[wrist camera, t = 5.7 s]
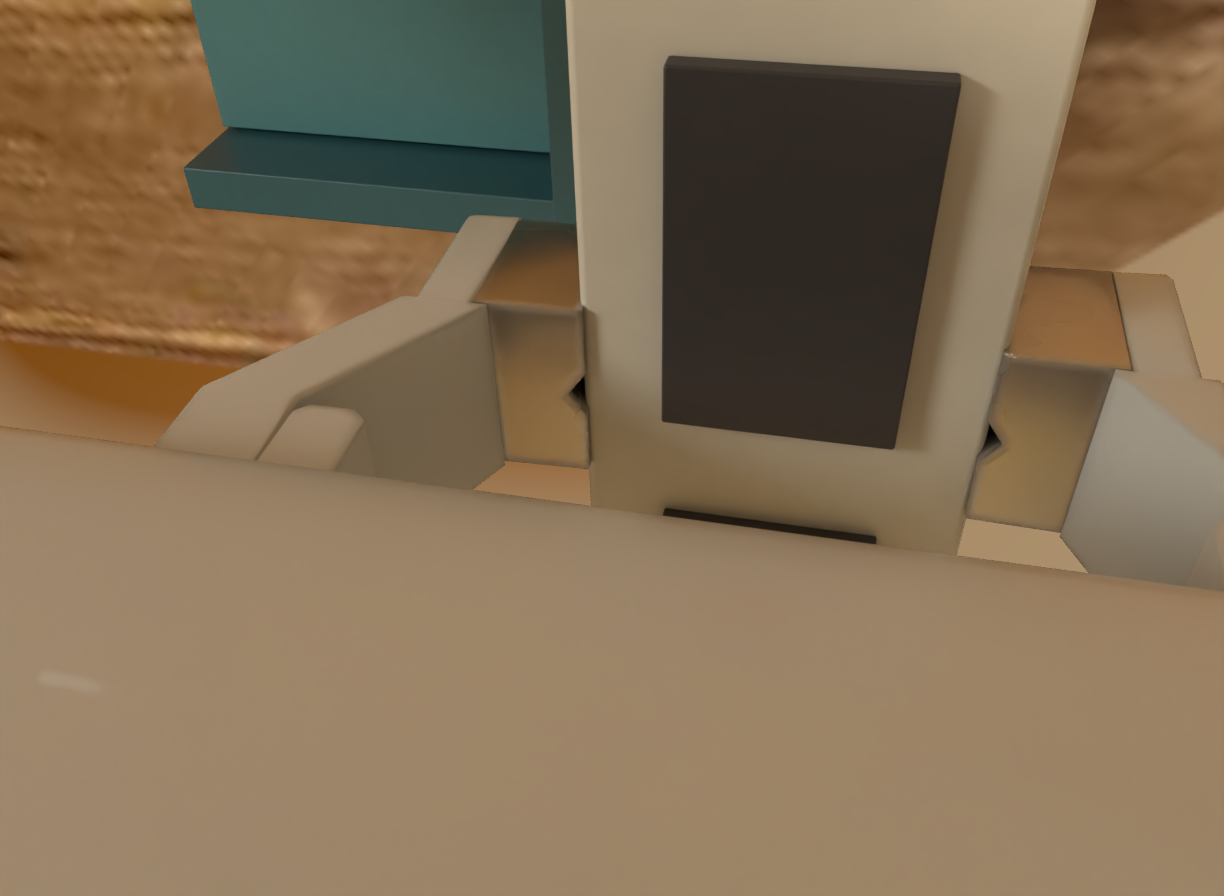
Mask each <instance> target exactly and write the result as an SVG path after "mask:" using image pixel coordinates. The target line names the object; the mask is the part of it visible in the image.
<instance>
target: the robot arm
mask: <svg viewBox="0 0 1224 896" xmlns="http://www.w3.org/2000/svg"><path fill="white" fill-rule="evenodd" d="M586 370H587V352H586V336H585V319H584V305H582V304H581V300H580V280H579V260H578V241H577V224H568V223H558V222H549V221H540V220H531V219H524V220H522V219H521V218H520V217H506V216H491V215H473V216H469V217H468V218H467V220H466V221H465V223H464V224H463V226H462V227H461V229H460V231H459V232H458V234H457V235H456V237H455V238H454V240H453V241H452V243H451V245H450V246H449V248H448V249H447V251H446V252H445V254H444V256H443V257H442V259H441V260H440V262H439V263H438V265H437V267H436V268H435V270H434V271H433V273H432V274H431V276H430V278H429V279H428V281H427V282H426V284H425V285H424V287H423V288H422V290H421V292H420V293H419V295H418V296H417V297H413V296H401V297H399V298H397V299H394V300H392V301H390V302H388V303H386V304H383V305H381V306H379V307H377V308H375V309H372V310H370V311H368V312H366V313H364V314H361V315H359V316H357V317H355V318H353V319H350V320H348V321H346V322H344V323H341V324H339V325H337V326H335V327H333V328H330V329H328V330H326V331H324V332H322V333H319V334H317V335H315V336H313V337H311V338H308V339H306V340H304V341H302V342H300V343H297V344H295V345H293V346H291V347H289V348H286V349H284V350H282V351H280V352H278V353H275V354H273V355H271V356H269V357H266V358H264V359H262V360H260V361H258V362H255V363H253V364H251V365H249V366H247V367H244V368H242V369H240V370H238V371H236V372H233V373H231V374H229V375H227V376H225V377H222V378H220V379H218V380H216V381H214V382H211V383H209V384H207V385H205V386H203V387H201V388H200V390H199V391H198V392H197V393H196V394H195V396H194V397H193V398H192V399H191V401H190V402H189V403H188V404H187V405H186V407H185V408H184V409H183V410H182V412H181V413H180V414H179V416H178V417H177V418H176V419H175V420H174V422H173V423H172V424H171V425H170V427H169V428H168V429H167V430H166V432H165V433H164V434H163V435H162V436H161V438H160V439H159V440H158V441H157V443H156V444H155V445H154V446H153V447H151V446H144V445H137V444H130V443H122V442H115V441H107V440H100V439H93V438H85V437H77V436H71V435H63V434H56V433H48V432H41V431H34V430H26V429H18V428H11V427H4V426H0V896H1224V383H1222V382H1221V381H1218V380H1209V379H1202V376H1201V373H1200V369H1199V366H1198V362H1197V359H1196V356H1195V352H1194V349H1193V345H1192V342H1191V339H1190V335H1189V332H1188V329H1187V325H1186V322H1185V318H1184V315H1183V311H1182V308H1181V305H1180V301H1179V298H1178V294H1177V291H1176V288H1175V284H1174V281H1173V279H1171V278H1170V277H1168V276H1167V275H1161V274H1160V275H1159V274H1140V273H1139V274H1138V273H1120V272H1111V271H1096V270H1081V269H1066V268H1051V267H1035V266H1030V267H1029V271H1028V275H1027V279H1026V283H1025V286H1024V290H1023V294H1022V298H1021V302H1020V306H1019V310H1018V314H1017V318H1016V322H1015V326H1014V330H1013V334H1012V338H1011V342H1010V345H1009V346H1008V348H1007V349H1004V351H1003V355H1002V359H1001V363H1000V367H999V371H998V374H997V378H996V382H995V386H994V390H993V394H992V398H991V402H990V406H989V410H988V422H989V424H990V425H989V429H988V433H987V437H986V441H985V444H984V446H983V448H982V450H981V451H980V452H979V453H978V454H977V458H976V462H975V467H974V471H973V475H972V479H971V484H970V488H969V492H968V497H967V501H966V505H965V509H964V510H965V518H967V519H974V520H981V521H987V522H993V523H1000V524H1006V525H1013V526H1019V527H1026V528H1033V529H1039V530H1046V531H1052V532H1058V533H1061V534H1060V538H1061V539H1062V540H1063V541H1064V543H1065V544H1066V545H1067V546H1068V548H1069V549H1070V550H1071V551H1072V553H1073V554H1074V555H1075V557H1076V558H1077V559H1078V560H1079V562H1080V563H1081V564H1082V565H1083V567H1084V568H1085V569H1086V571H1087V572H1088V573H1083V572H1075V571H1068V570H1060V569H1053V568H1045V567H1038V566H1031V565H1023V564H1016V563H1009V562H1001V561H994V560H986V559H979V558H972V557H964V556H957V555H950V554H942V553H935V552H927V551H920V550H913V549H905V548H898V547H890V546H883V545H876V544H868V543H861V542H853V541H846V540H839V539H831V538H824V537H816V536H809V535H802V534H794V533H787V532H780V531H772V530H765V529H757V528H750V527H743V526H735V525H728V524H720V523H713V522H706V521H698V520H691V519H684V518H676V517H669V516H661V515H654V514H647V513H639V512H632V511H624V510H617V509H610V508H602V507H595V506H587V505H580V504H572V503H565V502H558V501H550V500H543V499H536V498H528V497H521V496H514V495H506V494H499V493H491V492H483V491H477V490H473V489H474V488H475V487H477V486H478V485H479V484H481V483H482V482H483V481H485V480H486V479H487V478H489V477H490V476H491V475H492V474H494V473H495V472H496V471H498V470H499V469H500V468H501V467H503V466H504V465H505V463H504V461H513V462H523V463H532V464H543V465H551V466H562V467H572V468H582V469H589V467H590V465H591V462H592V460H591V436H590V412H589V407H588V405H587V403H586V397H585V379H584V375H585V372H586Z"/></svg>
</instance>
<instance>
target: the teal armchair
mask: <svg viewBox="0 0 1224 896" xmlns="http://www.w3.org/2000/svg"><path fill="white" fill-rule="evenodd" d="M191 4H192V8H193V12H194V15H195V19H196V23H197V27H198V31H199V35H200V38H201V42H202V46H203V50H204V54H205V58H206V61H207V65H208V69H209V73H210V77H211V81H212V84H213V88H214V92H215V96H216V100H217V104H218V107H219V111H220V115H221V119H222V123H223V126H225V127H229V128H228V129H226V130H225V131H224V132H223V133H222V134H221V135H220V136H219V137H217V138H216V139H215V140H214V141H213V142H212V143H211V144H210V145H209V146H207V147H206V148H205V149H204V150H203V151H202V152H201V153H200V154H198V155H197V156H196V157H195V158H194V159H193V160H192V161H191V162H190V163H188V164H187V165H186V166H185V167H184V172H185V176H186V179H187V182H188V186H189V189H190V193H191V196H192V199H193V203H194V206H195V207H196V208H206V209H216V210H227V211H237V212H247V213H258V214H268V215H278V216H289V217H299V218H309V219H320V220H330V221H340V222H351V223H361V224H371V225H381V226H392V227H402V228H412V229H423V230H433V231H443V232H454V233H458V232H459V231H460V229H461V227H462V226H463V224H464V223H465V221H466V220H467V218H468V217H469V216H473V215H491V216H506V217H520V218H521V219H522V220H524V219H531V220H540V221H549V222H558V223H568V224H577V221H576V201H575V182H574V162H573V142H572V122H571V103H570V83H569V63H568V44H567V24H566V4H565V0H191Z"/></svg>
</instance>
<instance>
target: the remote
mask: <svg viewBox="0 0 1224 896" xmlns="http://www.w3.org/2000/svg"><path fill="white" fill-rule="evenodd" d="M1096 1H1097V0H565V4H566V24H567V44H568V63H569V83H570V103H571V122H572V142H573V162H574V182H575V201H576V221H577V241H578V260H579V280H580V300H581V304H582V305H584V319H585V336H586V352H587V370H586V372H585V375H584V379H585V397H586V403H587V405H588V407H589V412H590V436H591V460H592V462H591V465H590V467H589V477H590V495H591V506H595V507H602V508H610V509H617V510H624V511H632V512H639V513H647V514H654V515H661V516H669V517H676V518H684V519H691V520H698V521H706V522H713V523H720V524H728V525H735V526H743V527H750V528H757V529H765V530H772V531H780V532H787V533H794V534H802V535H809V536H816V537H824V538H831V539H839V540H846V541H853V542H861V543H868V544H876V545H883V546H890V547H898V548H905V549H913V550H920V551H927V552H935V553H942V554H950V555H957V552H958V548H959V544H960V540H961V537H962V533H963V528H964V525H965V521H966V518H965V510H964V509H965V505H966V501H967V497H968V492H969V488H970V484H971V479H972V475H973V471H974V467H975V462H976V458H977V454H978V453H979V452H980V451H981V450H982V448H983V446H984V444H985V441H986V437H987V433H988V429H989V425H990V424H989V422H988V410H989V406H990V402H991V398H992V394H993V390H994V386H995V382H996V378H997V374H998V371H999V367H1000V363H1001V359H1002V355H1003V351H1004V349H1007V348H1008V346H1009V345H1010V342H1011V338H1012V334H1013V330H1014V326H1015V322H1016V318H1017V314H1018V310H1019V306H1020V302H1021V298H1022V294H1023V290H1024V286H1025V283H1026V279H1027V275H1028V271H1029V267H1030V263H1031V259H1032V255H1033V251H1034V247H1035V243H1036V239H1037V235H1038V231H1039V227H1040V223H1041V219H1042V215H1043V211H1044V207H1045V203H1046V199H1047V195H1048V191H1049V187H1050V183H1051V179H1052V175H1053V171H1054V167H1055V163H1056V159H1057V155H1058V152H1059V148H1060V144H1061V140H1062V136H1063V132H1064V128H1065V124H1066V120H1067V116H1068V112H1069V108H1070V104H1071V100H1072V96H1073V92H1074V88H1075V84H1076V80H1077V76H1078V72H1079V68H1080V64H1081V60H1082V56H1083V52H1084V48H1085V44H1086V40H1087V36H1088V32H1089V28H1090V24H1091V21H1092V17H1093V13H1094V9H1095V5H1096Z"/></svg>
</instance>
